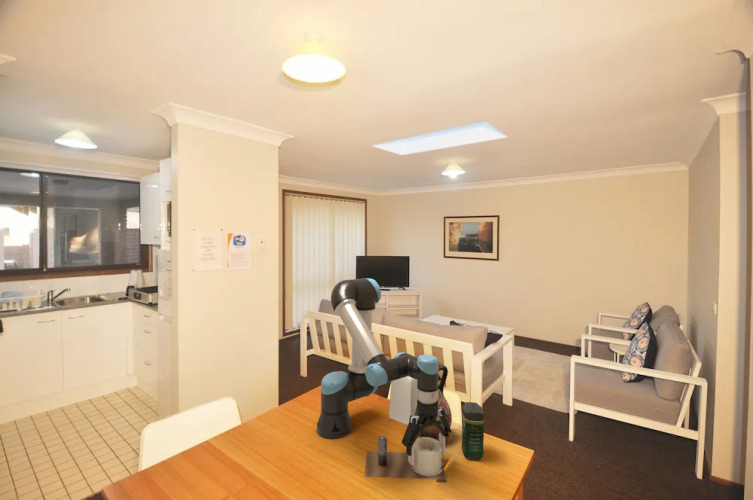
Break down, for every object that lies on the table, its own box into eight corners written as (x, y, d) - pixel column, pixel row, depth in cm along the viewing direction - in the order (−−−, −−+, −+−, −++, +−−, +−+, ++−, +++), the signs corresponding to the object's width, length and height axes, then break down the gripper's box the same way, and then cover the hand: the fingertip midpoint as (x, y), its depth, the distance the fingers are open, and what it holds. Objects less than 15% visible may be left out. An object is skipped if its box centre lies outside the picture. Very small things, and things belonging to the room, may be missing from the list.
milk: (402, 407, 168) (402, 355, 168) (423, 414, 162) (423, 360, 161) (388, 417, 159) (389, 362, 158) (410, 425, 152) (410, 367, 151)
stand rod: (376, 464, 124) (376, 437, 124) (380, 459, 127) (380, 432, 126) (384, 467, 122) (384, 439, 122) (388, 462, 125) (388, 435, 125)
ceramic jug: (428, 450, 134) (429, 375, 133) (407, 431, 148) (408, 362, 147) (462, 439, 142) (463, 367, 141) (439, 421, 155) (440, 356, 155)
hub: (404, 469, 122) (404, 452, 121) (417, 451, 132) (418, 435, 132) (436, 481, 116) (436, 463, 115) (448, 461, 126) (448, 445, 126)
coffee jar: (485, 462, 127) (486, 412, 127) (463, 460, 128) (464, 411, 128) (480, 446, 137) (481, 400, 136) (460, 445, 138) (460, 399, 137)
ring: (414, 473, 119) (414, 453, 119) (411, 455, 129) (411, 436, 129) (443, 473, 119) (443, 453, 118) (438, 455, 129) (438, 437, 128)
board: (364, 479, 118) (364, 476, 118) (367, 453, 132) (367, 451, 132) (446, 482, 116) (446, 479, 116) (440, 456, 130) (440, 453, 130)
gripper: (403, 412, 114) (403, 474, 115) (461, 396, 125) (460, 453, 126) (392, 402, 121) (391, 461, 121) (448, 388, 132) (447, 443, 133)
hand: (426, 457), depth 124 cm, fingers open, 13 cm apart
